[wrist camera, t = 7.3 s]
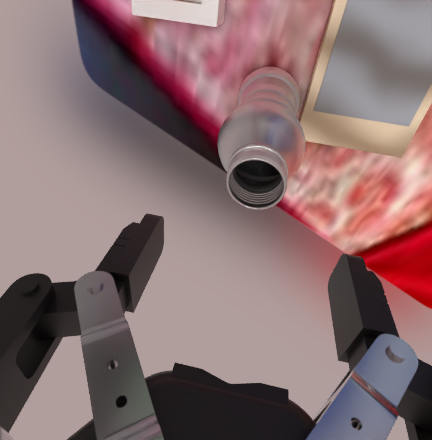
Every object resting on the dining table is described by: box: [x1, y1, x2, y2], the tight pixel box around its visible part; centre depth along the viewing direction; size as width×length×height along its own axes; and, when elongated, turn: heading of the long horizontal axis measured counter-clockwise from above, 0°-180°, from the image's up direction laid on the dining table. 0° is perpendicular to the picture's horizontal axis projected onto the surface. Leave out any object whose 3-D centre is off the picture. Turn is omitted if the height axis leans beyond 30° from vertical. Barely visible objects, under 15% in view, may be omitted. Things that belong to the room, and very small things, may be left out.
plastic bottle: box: [218, 67, 306, 210], centre depth 25 cm, size 6×7×20 cm
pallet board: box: [299, 0, 432, 157], centre depth 29 cm, size 18×12×2 cm, turn 174°
